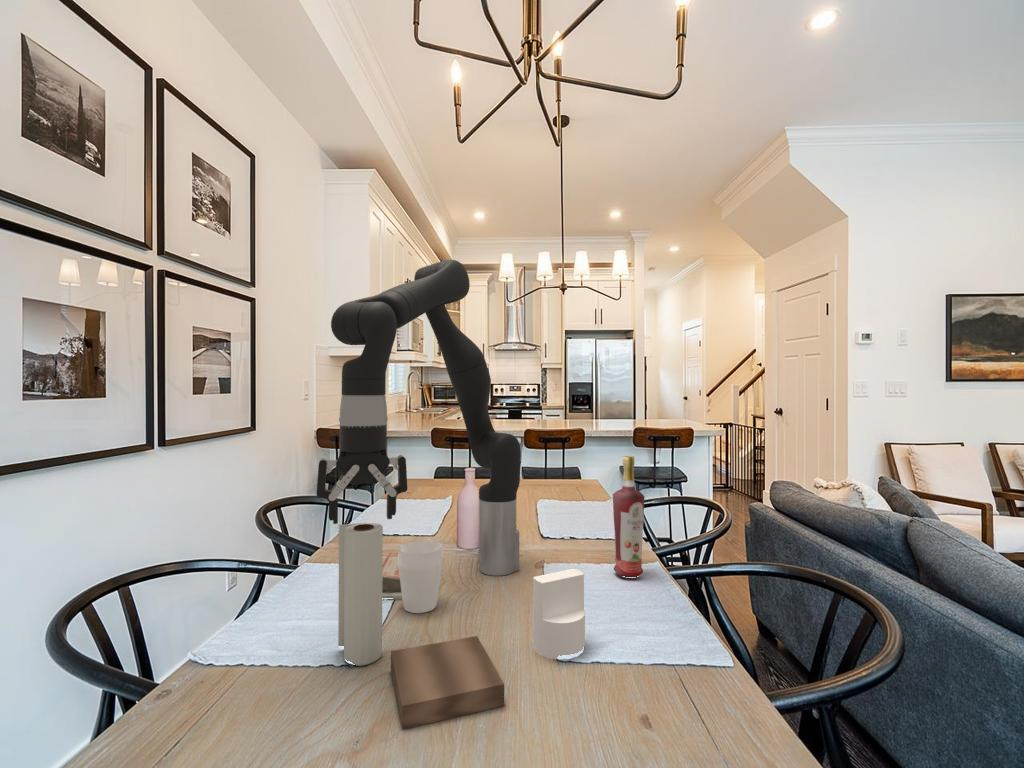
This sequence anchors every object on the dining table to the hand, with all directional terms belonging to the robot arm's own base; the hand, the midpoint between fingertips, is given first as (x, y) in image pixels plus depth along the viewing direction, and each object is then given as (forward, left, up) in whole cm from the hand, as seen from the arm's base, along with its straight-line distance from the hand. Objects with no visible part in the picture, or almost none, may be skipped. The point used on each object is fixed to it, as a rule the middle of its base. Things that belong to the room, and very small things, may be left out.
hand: (362, 520), depth 81 cm
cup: (-12, -15, -23) cm, 30 cm away
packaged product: (-9, -29, -23) cm, 38 cm away
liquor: (-61, -15, -22) cm, 67 cm away
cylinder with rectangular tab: (-32, +8, -23) cm, 40 cm away
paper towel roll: (0, 0, -22) cm, 22 cm away
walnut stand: (-11, +13, -22) cm, 28 cm away
